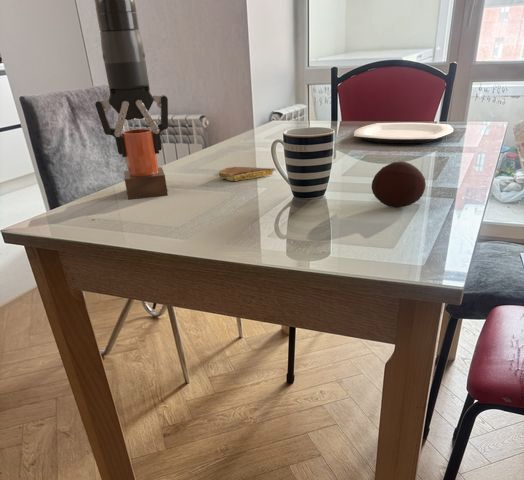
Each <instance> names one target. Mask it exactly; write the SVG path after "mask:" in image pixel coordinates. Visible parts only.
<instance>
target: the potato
mask: <svg viewBox="0 0 524 480" xmlns="http://www.w3.org/2000/svg"><path fill="white" fill-rule="evenodd" d="M426 186H427V183H426V178H425V176H424V175H423V173H422V172H421V171H420V170H419V169H418V168H417V167H416V166H415V165H413V164H412V163H409V162H407V161H393V162H390V163H389V164H387V165H384V166H383V167H381V168H380V169H379V170H378V171H377V173H375V175H374V177H373V179H372V181H371V192H372V194H373V195H374V197H375V198H376V200H377V201H379V203H381V204H383V205H385V206H387V207H389V208H395V209H398V208H405V207H409V206H411V205H413V204H415V203H417V202H419V200H420V199H421V198H422V196H423V195H424V193H425V190H426Z"/></svg>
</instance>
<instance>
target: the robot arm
mask: <svg viewBox="0 0 524 480" xmlns="http://www.w3.org/2000/svg"><path fill="white" fill-rule="evenodd" d="M94 5H95V13H96V18H97V24H98V30H99V35H100V46H101V52H102V59H103V64H104V68H105V74H106V78H107V84H108V85H107V86H108V90H109V95H108V98H107V99H103V100H100V99H99V100H98V99H97V100H96V101H95V109H96V112H97V115H98V118H99V121H100V123H101V126H102V130H103V132H104V134H105V135H107V136H112V137H114V138H115V143H116V149H117V152H118V154H119V155H121V156H122V158H126V153H125V148H124V142H123V137H122V132H123V127H124V125H125V121H132V120H134V119H136V120H143V119H145V121H146V122H147V124H148V125H149V127H150V129H151V130H152V131H153V138H154V145H155V151H156V155H157V154H160V151H162V150H163V149H162V148H163V145H162V139H161V133H162V132H163V131H165V130H167V129H168V128H169V99H168V97H167V95H165V94H161V95H154V94H153V93H152V91H151V88H150V81H149V74H148V68H147V61H146V52H145V48H144V43H143V39H142V35H141V31H140V25H139V18H138V11H137V5H136V1H135V0H94ZM154 102H155V103H156V107H157V108H158V109H160V122H159V123H158V124H157V123H156V122H155V120H154V118H153V116H152V114H151V113H150V109H151V107H152V105H153V103H154ZM109 106H111V107H112V108H113V109H114V110H115V111H116V113H117V114H118V116H117V120H116V122H115V123H116V124H115V127H111V126H110V123H109V120H108V117H107V113H108V111H109Z"/></svg>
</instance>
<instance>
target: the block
mask: <svg viewBox="0 0 524 480" xmlns="http://www.w3.org/2000/svg"><path fill="white" fill-rule="evenodd" d="M158 170H159V172H158V173H156V174H153V175H149V176H131V175H129V170H124V171H123V177H124V184H125V189H126V195H127V199H128V200H136V198H137V199H146V198H154V197H162V196H163V197H164V196H168V195H169V194H168V185H167V181H166V175H165V172H164V169H163V167H162V166H158ZM145 197H146V198H145Z"/></svg>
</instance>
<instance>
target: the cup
mask: <svg viewBox="0 0 524 480" xmlns="http://www.w3.org/2000/svg"><path fill="white" fill-rule="evenodd" d="M121 136H122V137H123V142H124V148H125V153H126V157H125V159H126V165H127V171H129V175H131V176H149V175H153V174H156V173H158V172H159V170H158V167H159V165H158V164H159V163H158V158H157V154H156V151H155V145H154V138H153V130H152V128H135V129H129V130H127V129H126V130H124V131H122V132H121Z"/></svg>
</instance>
